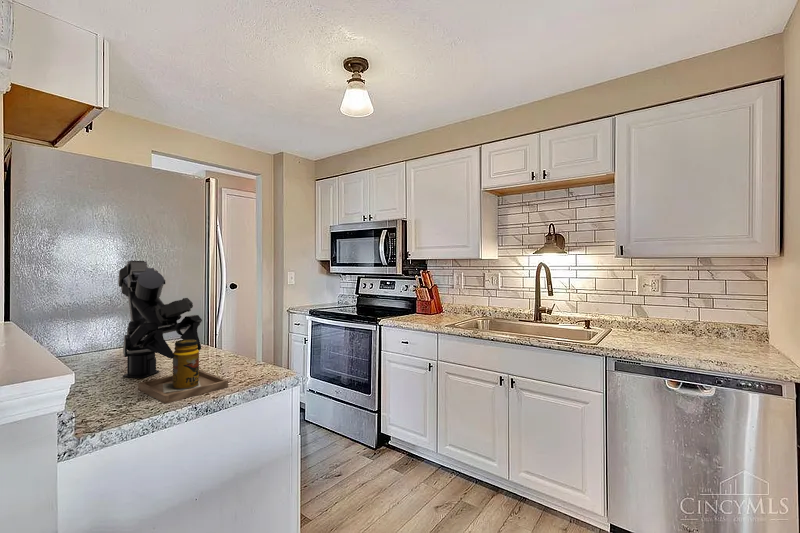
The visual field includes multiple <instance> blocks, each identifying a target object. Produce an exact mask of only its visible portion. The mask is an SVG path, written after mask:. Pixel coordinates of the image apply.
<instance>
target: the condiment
mask: <svg viewBox="0 0 800 533" xmlns="http://www.w3.org/2000/svg"><path fill="white" fill-rule="evenodd" d="M197 344H198V342H197V340H194V339H185V340H183V339H180V340H176V341H175V342H174V348H173V349H174V351H173V354H174V355H175V356H174V358H172V376H173V383H167V384H163V393H166V392H172V391H180V390H188V389H192V388H196V387H200V386H201V385H200V382H199V370H200V350H198V349H197V348H198V346H197Z"/></svg>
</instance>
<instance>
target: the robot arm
mask: <svg viewBox="0 0 800 533" xmlns="http://www.w3.org/2000/svg"><path fill="white" fill-rule="evenodd" d="M117 279H118V284H117V285H118V288H119V287H120V289H121V294H123V295H124V296H126V297H127V298H128V305H129V314H130V321H129V322H128V325H127V330H126V334H124V335H123V344H122V354H123V356H124V357H125V358H127V362H126V364H127V365H126V366H127V367H126V372H127V373H125V374H123V375H122V378H134V379H144V378H148V377H150V376H151V375H154V374H157V373H160V370H158V369H157V358H156V354H159V355H161V356H163V357H166V358H168V359H170V360H171V359H172V360H173V358H174V356H175V355H174V354H173V353H174V351H173V350H172V349H171V347H170V346H169V344H168V343H167V342H166V340H165V338H164V334H168V333H174V332H176V333H177V334H178V335H180V339H181V340H185V339H194V340H197V342H198V344H197V346H198V348H197V349H198V350H199V351H201V349H202V344H201V342H200V338H199V332H198V328H199V326H201V323H202V322H203V319H202V318H201V316H200V315H199V314H192V315H187V316H184V318H183V319H182V320H181V321H180V319H181V318H182V315H183V314H185V313H189V312H191V311H192V309H193V307H194V305H193V302H192V301H191V299H190V298H188V297H183V298H182V299H178V300H174V301H172V302H169V303H166V304H164V302H163V301H162V300H161V298H160V297H161V295H162V291H163V288H164V285H166V279H165V278H164V276H163V275H162V274H161V273H159V271H158V270H155V268H154V267H149V266H148V263H147V261H145V260H129V261H127V263H126V265H125V266H124V267H122V268H121V269H119V272H118V278H117ZM178 321H180V322H178Z"/></svg>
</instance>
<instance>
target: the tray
mask: <svg viewBox="0 0 800 533" xmlns="http://www.w3.org/2000/svg"><path fill="white" fill-rule="evenodd" d="M199 382H200V385H201V386H200V387H196V388H192V389H188V390H180V391H172V392H166V393H163V384H167V383H173V375H170V376H164V377H159V378H154V379H151V380H146V381H141V382H138V387H137V388H138V391H141V392H143V393H144V394H146V395H148V396H150V397H151V398H154V399H155V398H156V400H157V399H158V401H160V402H161V403H163V404H169V403H172V402H176V401H181V400H184V399H187V398H192V397H195V396H199V395H203V394H207V393H212V392H214V391H219V390H222V389H225V388H226V389H227V388H228V387H229V380H228V379H225V378H224V377H223V378H222V377H219V376H217V375H214V374H212V373H210V372H209V373H208V372H206V371H203V370H200V369H199Z"/></svg>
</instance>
